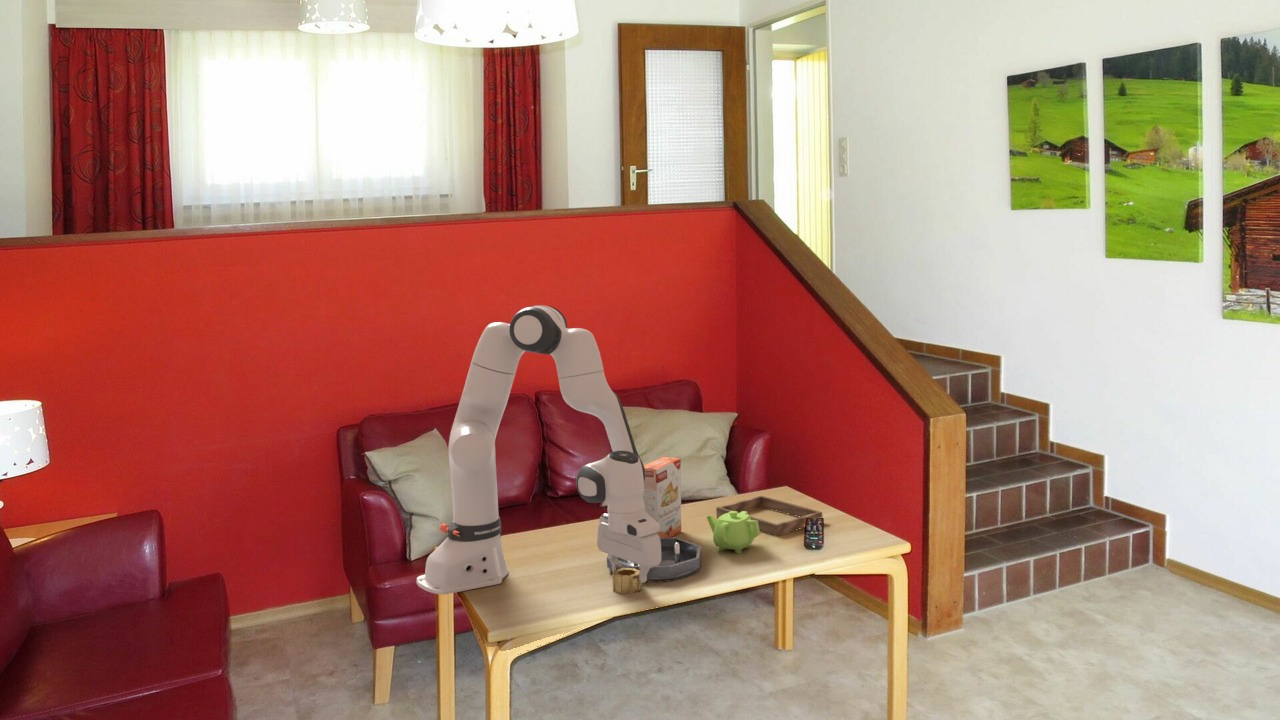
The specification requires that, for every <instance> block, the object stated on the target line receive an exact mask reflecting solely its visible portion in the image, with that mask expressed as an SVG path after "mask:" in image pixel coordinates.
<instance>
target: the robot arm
mask: <svg viewBox="0 0 1280 720" xmlns="http://www.w3.org/2000/svg"><path fill="white" fill-rule="evenodd" d="M481 333H482V334H481V335H480V338H479V339H478V342H477V344H476V347H475V349H474V351H473V355H472V358H471V362H470V364H469V369H468V372H467V375H466V379H465V384H464V387H463V390H462V393H461V397H460V400H459V403H458V407H457V410H456V413H455V417H454V419H453V420H454V421H453V423H452V426H451V430H450V434H449V440H448V447H447V448H448V449H447V450H448V452H447V453H448V462H449V463H448V465H449V473H450V474H449V475H450V486H451V496H452V498H451V499H452V500H451V501H452V515H453V516H452V517H453V520H452V522H451V523H450V525H449V524H446V523H441V524H440V525H439V531H440V532H443V533H445V534H447V536H446V538H445V539H444V540H443V541H442V542H441V543H440V545H439V546H437V548H436V549H434V550H433V551H432V552H431V553H430V554H429V556H427V559H426V562H425V569H424V571H425V572H424V574H421V575H419V576H417V577H416V585H417V587H419V588H420V589H422V590H424V591H426V592H429V593H431V594H435V595H442V596H443V595H450V594H454V593H460V592H465V591H469V590H475V589H480V588H485V587H490V586H495V585H496V586H497V585H499V584H502V583H503V579H504V578H505V577H507V575H508V574H509V569H508V567H507V564H506V560H505V557H504V552H503V547H502V541H501V538H502V522H501V517H500V516H499V500H498V497H499V496H498V482H497V465H496V464H497V463H496V462H497V461H496V459H497V458H496V438H497V434H498V430H499V427H500V424H501V421H502V419H503V416H504V412H505V410H506V407H507V405H508V400H509V397H510V394H511V390H512V387H513V384H514V380H515V377H516V373H517V370H518V365H519V363H520V360H521V358H522V356H523V355H524V353H525V352H526V353H532V354H539V355H540V354H541V355H550V356H551V357H552V359H553V361H554V362H555V368H556V372H557V378H558V383H559V390H560V393H561V396H562V399H563V400H564V402H565V403H566V404H567V405H568V406H570V407H571V408H572V409H574V410H576V411H578V412H581V413H585V414H589V415H592V416H594V417H597V418H598V419H599V420H600V421H601V422H602V423H603V425H604V428H605V432H606V434H607V437H608V441H609V444H610V446H611V447H610V449H611V450H612V452H609V453H608V454H607V455H606V456H605V457H603V458H602V459H600V460H596V461H593V462H589V463H587V464H585V465H583V466H581V467H580V468H579V469H578V472H577V473H576V477H575V484H576V485H575V486H576V489H577V490H576V491H577V492H578V494H579V496H580V497H581V499H583V500H584V501H585V502H587V503H590V504H591V503H592V504H598V503H599V504H600V503H605V504H606V505H607V509H606V510H607V513H603V514H601V516H600V517H599V524H598V527H597V536H596V537H597V538H596V539H597V548H598V550H599V551H600V552H602V553H604V554H607V556H608V558H609V560H610V562H611V564H612V571H614V570H619V569H621V568H622V565H620V564H619V560H618V558H621V559H624V560H626V561H629V562H632V563H635V564H637V565H639V569H641V571H640V574H638V575H637V578H638V579H637V581H638V582H641V584H644V583H646V581H647V573H648V571H649V569H650V568H653V567H656V566H658V565H659V564H660V563H661V541H660V537H659V535H658V534H657V532H659V531H660V525H659V523H658V522H657V521H655V520H654V519H653V518H652V517H651V516H650V515H649V514H648V513H647V512H645V505H644V502H643V493H644V481H645V476H646V473H645V468H644V465H645V464H644V463H643V461H642V458H641V457H640V455H639V453H638V451H637V448H636V445H635V441H634V438H633V435H632V431H631V428H630V426H629V422H628V418H627V416H626V412H625V409H624V406H623V404H622V402H621V400H620V397H619V396H618V395H617V393H616V392H614V391H613V390H612V389H611V387H610V385H609V383H608V381H607V378H606V375H605V371H604V370H605V369H604V365H603V361H602V357H601V356H602V355H601V352H600V350H599V347H598V344H597V341H596V338H595V336H594V334H593V333H592V332H591V331H589V330H588V329H585V328H581V327H580V328H579V327H574V328H568V321H567V319H566V317H565V315H564V313H562V312H561V310H559V309H558V308H556V307H553V306H550V305H540V304H538V305H532V306H528V307H524V308H522V309H520V310H518V311H517V312H516V313H515V315H513V316H512V318H511V321H510V323H507V322H502V321H497V322H491V323H489V324H488V325H486V327H485V328H484V330H483V331H482V332H481Z"/></svg>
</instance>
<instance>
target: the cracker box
mask: <svg viewBox="0 0 1280 720" xmlns="http://www.w3.org/2000/svg"><path fill="white" fill-rule="evenodd" d="M681 462H682V460H681V458H678V457H670V456H669V457H667V456H662V457H660V458H658V459H655V460H653V461H651V462H648V463H647V464H643V465H644V468H645V473H646V476H645V481H644V493H643V502H644V505H645V512H647V513H648V514H649V515H650V516H651V517H652V518H653V519H654V520H655V521H657V522H658V523H659V525H660V531H659V532H657V534H658V535H659V537H660V538H673V537H674V536H676V535H677V534H680V533H681V532H682V485H681V484H682V483H681V482H682V481H681V480H682V477H681V476H682V470H681V469H682V468H681V466H682V465H681Z"/></svg>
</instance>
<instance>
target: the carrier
mask: <svg viewBox="0 0 1280 720" xmlns="http://www.w3.org/2000/svg"><path fill="white" fill-rule="evenodd" d="M660 541H661V563H660V564H659V565H658V566H656V567H653V568H650V569H649V571H648V573H647V583H652V582H651V581H654V582H653V583H659V582H658V581H663V582H671V581H675V580H676V581H677V580H681V579H684V578H688V577H690V576H692V575H695V574H696V573H697V572H699V571H700V569H701V568H700V567H702V555H703V554H702V552H703V551H702V545H699V544H697V543H693V542H691V541H689V540H685V539H682V538H679V537H671V538H660ZM618 560H619V564H620V565H622V568H635V569H637V570H640V571H641V569H639V565H637V564H635V563H632V562H629V561H626V560H624V559H621V558H618ZM606 568H608V569H609V571H610V573H611V574H614V573H613V571H612V564H611V562H610V560H609V558H608V555H607V556H606Z"/></svg>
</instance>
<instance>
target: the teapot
mask: <svg viewBox="0 0 1280 720" xmlns="http://www.w3.org/2000/svg"><path fill="white" fill-rule="evenodd" d="M750 516H751V515H750V514H749V513H748V511H742V512H740V513H738V512H737V511H730V512H729V513H726V514H723V515H721V516H720V517H719V518H717V520H716V519H715V518H714V516H713V515H706V519H707V521H708V524H709V526H710V528H711V530H712V533H713V537H712V541H713V543H714V545H715V547H718V549H719V550H718V551H721V550H723V551H726V550H727V549H728V550H729V549H730V550H734V553H736V554H741V553H743V551H742V550H743V549H745V548H746V549H748V548H749V549H750V548H751V545H752V543H753V542H754V539H755V538H757V537H758V536H760V535H761V531H760V530H759V525H758V520H751V518H750Z"/></svg>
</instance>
